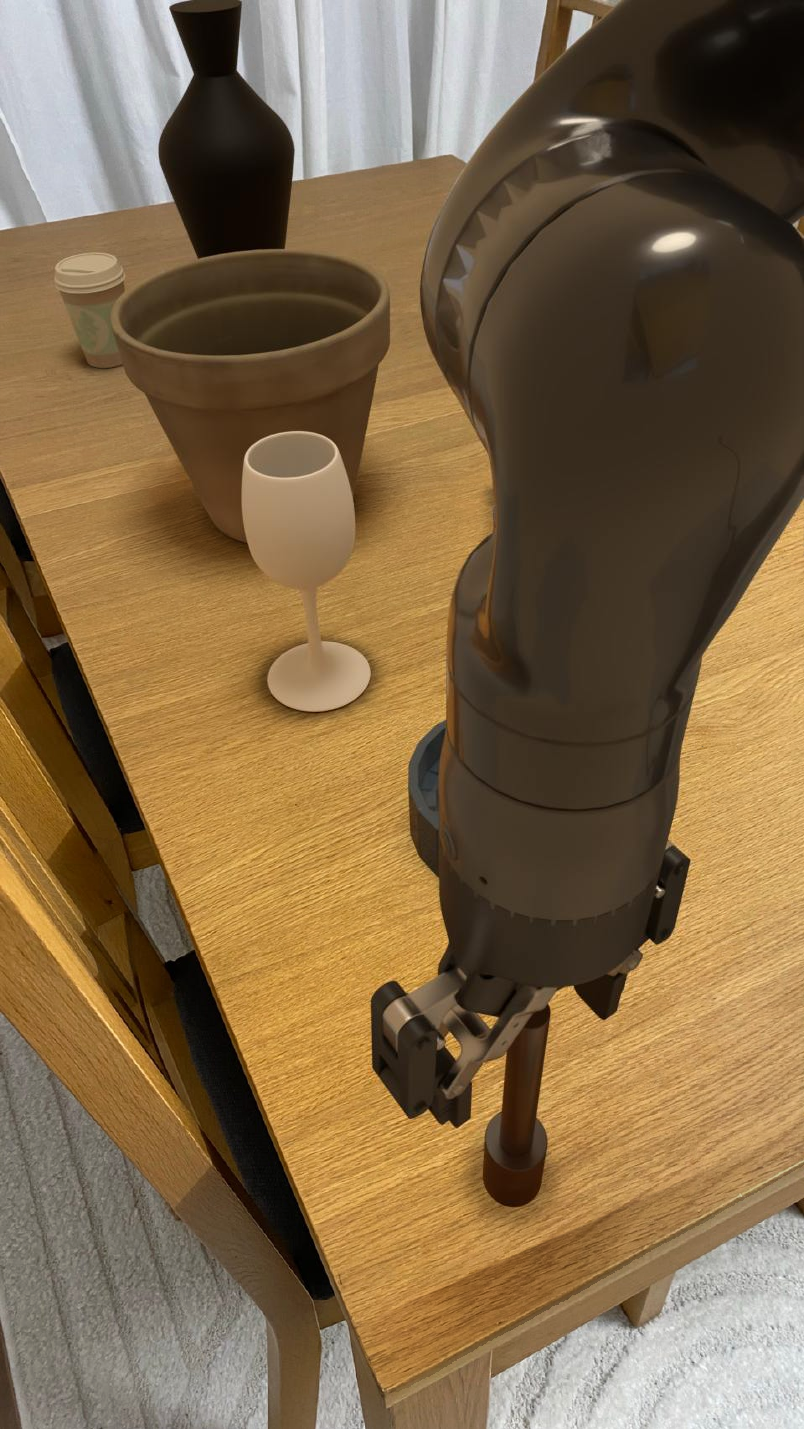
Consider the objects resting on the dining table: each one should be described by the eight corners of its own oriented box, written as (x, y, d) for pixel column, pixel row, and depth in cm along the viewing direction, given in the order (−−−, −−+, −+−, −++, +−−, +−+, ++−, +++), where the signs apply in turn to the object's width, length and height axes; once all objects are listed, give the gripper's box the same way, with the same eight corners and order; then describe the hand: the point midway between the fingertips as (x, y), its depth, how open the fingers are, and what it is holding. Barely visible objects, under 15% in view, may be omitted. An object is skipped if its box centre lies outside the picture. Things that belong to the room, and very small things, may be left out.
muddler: (553, 1183, 54) (584, 1017, 41) (507, 1220, 53) (525, 1061, 40) (515, 1135, 56) (534, 963, 43) (470, 1169, 55) (476, 1002, 42)
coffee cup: (64, 358, 130) (37, 264, 121) (122, 338, 134) (99, 245, 125) (97, 379, 125) (71, 283, 117) (155, 358, 129) (134, 262, 121)
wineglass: (390, 666, 84) (378, 443, 70) (329, 727, 79) (301, 501, 65) (310, 631, 88) (282, 412, 73) (246, 687, 83) (202, 465, 68)
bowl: (638, 844, 70) (649, 788, 66) (489, 942, 65) (492, 887, 61) (515, 736, 78) (519, 679, 74) (374, 815, 73) (369, 759, 69)
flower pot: (139, 474, 108) (88, 270, 93) (352, 427, 114) (337, 228, 99) (188, 604, 92) (135, 381, 76) (435, 541, 97) (432, 322, 82)
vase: (200, 284, 146) (149, -6, 122) (315, 281, 145) (288, -11, 121) (176, 334, 134) (114, 23, 110) (302, 331, 133) (269, 17, 109)
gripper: (448, 1019, 28) (447, 1224, 39) (786, 790, 33) (699, 1028, 45) (309, 848, 32) (344, 1076, 44) (627, 671, 38) (585, 915, 49)
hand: (524, 1052), depth 44 cm, fingers open, 8 cm apart
